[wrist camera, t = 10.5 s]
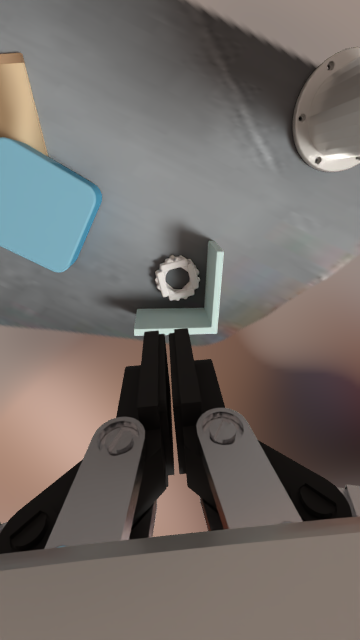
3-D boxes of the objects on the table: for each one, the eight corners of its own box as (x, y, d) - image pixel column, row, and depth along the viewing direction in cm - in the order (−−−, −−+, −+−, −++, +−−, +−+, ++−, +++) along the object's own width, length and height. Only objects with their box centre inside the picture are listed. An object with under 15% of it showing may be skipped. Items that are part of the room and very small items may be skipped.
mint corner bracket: (213, 240, 42) (223, 251, 35) (208, 311, 48) (216, 333, 41) (133, 240, 41) (128, 251, 35) (137, 313, 47) (134, 335, 40)
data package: (13, 136, 34) (-13, 226, 38) (-6, 129, 30) (-33, 231, 34) (106, 190, 37) (73, 268, 41) (100, 192, 33) (64, 277, 37)
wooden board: (22, 54, 31) (20, 52, 30) (65, 224, 39) (64, 224, 39) (-70, 61, 30) (-74, 59, 30) (-7, 230, 39) (-9, 231, 38)
